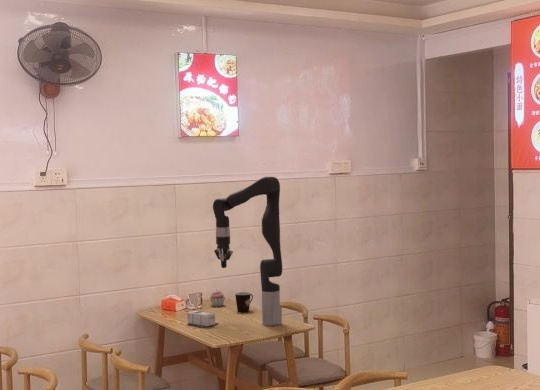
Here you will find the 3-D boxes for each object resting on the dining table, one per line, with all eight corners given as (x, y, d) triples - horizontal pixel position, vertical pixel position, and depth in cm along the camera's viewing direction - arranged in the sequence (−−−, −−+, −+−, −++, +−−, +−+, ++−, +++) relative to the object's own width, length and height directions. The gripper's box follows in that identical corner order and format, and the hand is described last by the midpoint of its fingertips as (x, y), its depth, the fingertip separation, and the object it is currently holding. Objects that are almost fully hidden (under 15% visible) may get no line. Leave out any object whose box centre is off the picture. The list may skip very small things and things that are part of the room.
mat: (218, 324, 361) (218, 323, 361) (202, 327, 353) (202, 326, 353) (203, 320, 369) (203, 320, 369) (187, 324, 361) (187, 323, 361)
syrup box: (207, 315, 353) (187, 311, 362) (207, 326, 353) (187, 323, 362) (215, 313, 358) (195, 310, 367) (215, 324, 358) (195, 321, 367)
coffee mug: (238, 313, 386) (238, 295, 386) (233, 310, 394) (232, 293, 394) (258, 311, 391) (257, 293, 390) (252, 308, 399) (252, 291, 398)
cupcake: (211, 304, 414) (210, 287, 414) (226, 304, 413) (226, 287, 413) (208, 307, 405) (207, 290, 405) (224, 307, 404) (223, 290, 404)
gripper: (236, 235, 372) (237, 268, 373) (220, 234, 382) (220, 265, 382) (226, 236, 367) (226, 269, 368) (209, 235, 376) (210, 267, 377)
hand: (223, 267), depth 375 cm, fingers closed
